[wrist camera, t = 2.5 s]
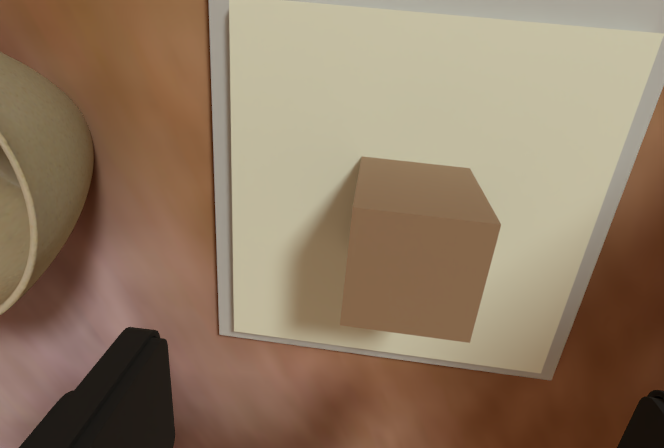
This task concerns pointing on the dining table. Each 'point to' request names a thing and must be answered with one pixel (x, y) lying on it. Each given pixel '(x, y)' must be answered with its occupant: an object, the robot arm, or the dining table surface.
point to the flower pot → (37, 175)
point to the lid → (420, 174)
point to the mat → (497, 3)
